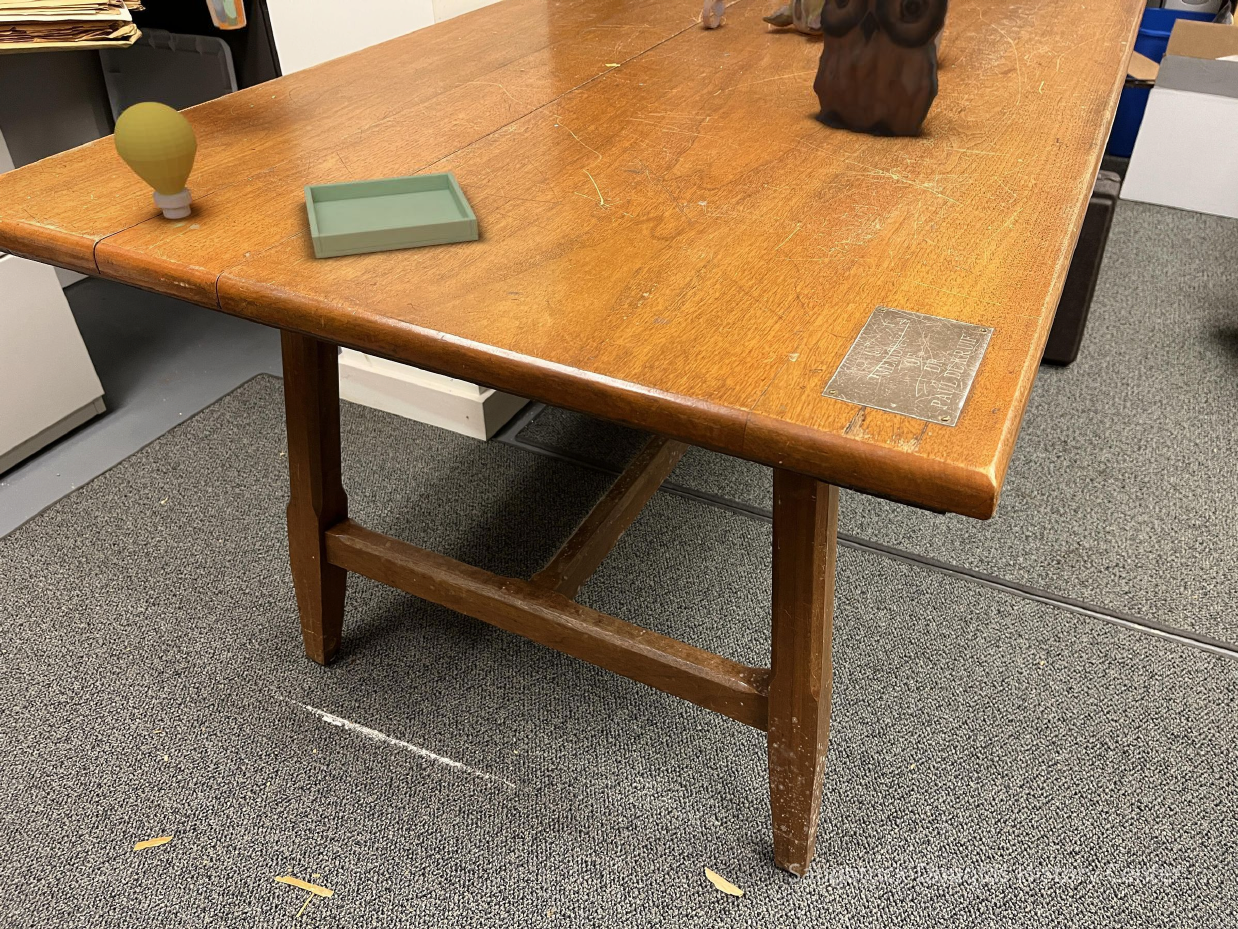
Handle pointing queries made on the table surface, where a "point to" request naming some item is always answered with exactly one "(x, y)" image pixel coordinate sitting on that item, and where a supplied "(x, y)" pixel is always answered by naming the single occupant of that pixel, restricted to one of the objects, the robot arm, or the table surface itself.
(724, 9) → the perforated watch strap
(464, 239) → the tray
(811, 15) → the ceramic sculpture
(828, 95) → the owl
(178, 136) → the light bulb
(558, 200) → the table surface
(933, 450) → the table surface
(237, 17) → the milkshake
